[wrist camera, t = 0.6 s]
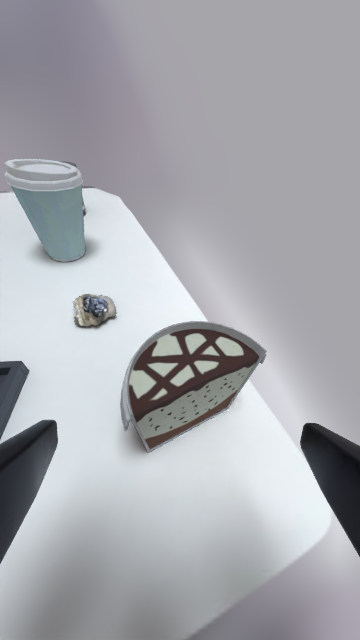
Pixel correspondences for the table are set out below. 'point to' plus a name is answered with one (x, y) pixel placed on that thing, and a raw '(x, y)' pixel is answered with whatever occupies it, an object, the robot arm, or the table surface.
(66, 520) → the table surface
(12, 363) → the tray
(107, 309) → the crystal geode
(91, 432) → the table surface
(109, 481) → the table surface
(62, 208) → the disposable coffee cup
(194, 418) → the food container
